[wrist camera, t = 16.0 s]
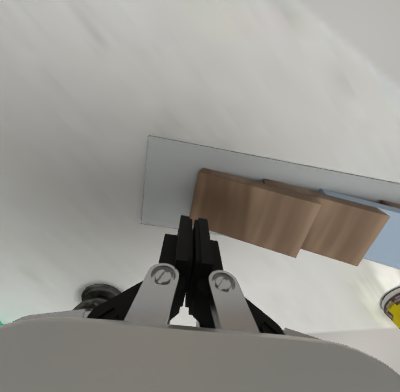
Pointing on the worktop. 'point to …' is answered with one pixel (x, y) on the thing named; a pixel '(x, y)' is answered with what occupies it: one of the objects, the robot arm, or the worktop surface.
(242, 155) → the mat
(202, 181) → the tile
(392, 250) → the slate tile
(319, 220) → the tile
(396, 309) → the supplement bottle
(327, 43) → the worktop surface
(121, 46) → the worktop surface
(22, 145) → the worktop surface
